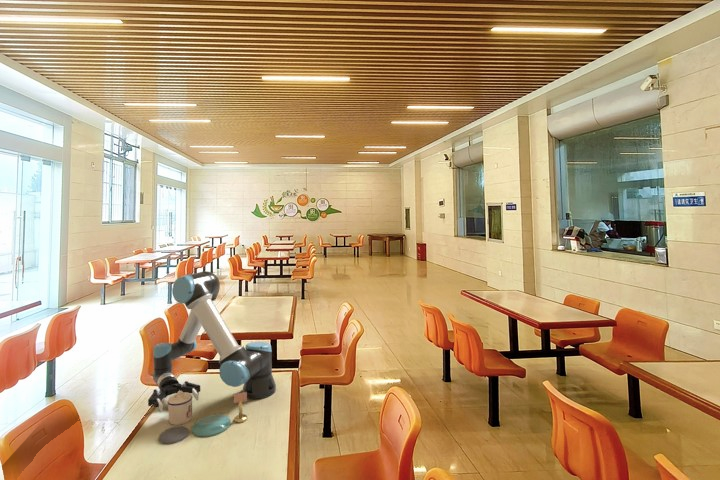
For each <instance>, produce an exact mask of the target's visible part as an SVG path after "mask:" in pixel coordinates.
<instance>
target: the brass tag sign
mask: <svg viewBox="0 0 720 480" xmlns="http://www.w3.org/2000/svg"><path fill="white" fill-rule="evenodd" d="M247 401H248V398H247V392H243V391H242V392H236V393H233V403H234V404H236V403H238V415H236V416H234V419H233V420H234V421H233V422H235V423H236V424H241V423H244V422H246V421H248V415H247V414H244V413H243V412H244V411H243V402H247Z"/></svg>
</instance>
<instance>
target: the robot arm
mask: <svg viewBox="0 0 720 480" xmlns="http://www.w3.org/2000/svg"><path fill="white" fill-rule="evenodd" d="M172 284H173V285H172V288H171V290H172V296H173V298H174V301H176V303H180V304H184V305H185V307H186V308H187V309H188V310H190V312H189V313H188V317H187V319H186V321H185V323H184V325H183V327H182V330H181V333H180V335H179V337H178V339H177V341H175V342H174V343H170V342H161V343H160V342H159V343H157V344H156V345H154V346H153V350H152V354H153V355H152V357H153V372H152V380H153V381H154V382H155V383H156V386H157V387H158V389H154V390H153V392H152V394H151V395H150V397H149V398H148V399H147V403H148V405H147V406H148V407H151V406H152V405H153V408H158V409H159V411H160V412H161V413H162V412H163V411H164V410H163V403H162V400H163V399H167V398H168V396H173V395H175V394H177V392H178V391H183V392H187V393H190V394H191V395H192V397H193V398H194V399H195V401H199V398H200V397H199V395H200V392H201V385H200V384H197V383H192V382H189V381H184V383H182V384H181V383H180V382H179V380H178V378H176V376H175V375H174V373H173V361H175V360H176V359H179V358H181V357H184V356H186V355H188V354H190V353H191V352H193V351H195V350H196V348H197V340H196V339H197V336H198V335H199V332H200V330H201V328H203V330H204V332H205V333H206V334H207V337H208V339H209V340H210V341H211V343H212V345H213V347H214V348H215V349H214V350H216V352H217V354H218V355H219V360H218V363H219V364H220V367H219V377H220V380H221V381H222V382H223V383H225V385H226V386H228V387H233V388H236V387H240V386H241V385H243V387H242V392H247V399H251V400H258V399H259V400H260V399H265V398H267V397H270V396H272V395H273V394H274V393H275V392H276V390H277V385H276V382H275V378H274V376H273V372H272V371H273V368H272V367H273V365H272V364H273V361H272V357H273V355H272V354H273V353H272V352H273V351H272V345H271V344H270V343H269V342H265V341H253V342H249V343H246V345H245V346H243V345H239V344H238V341H237V340H236V339H235V337H234V336H233V333H232V332H231V330H230V329H229V327H228V325H227V324H226V322H225V320H224V319H223V317H222V315H221V314H220V312H219V311H218V309H217V307H216V305H215V303H214V301H216V300H217V297H218V296H219V292H220V288H221V283H220V279H219V278H218V276H217V275H216V274H215V273H213V272H211V271H207V270H206V271H200V272H196V273H190V274H185V275H182V276H179V277H177V278H176V279H175V280H174V283H172Z"/></svg>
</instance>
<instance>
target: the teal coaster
mask: <svg viewBox="0 0 720 480" xmlns="http://www.w3.org/2000/svg"><path fill="white" fill-rule="evenodd" d="M230 425H231V418H230V417H229V416H227V415H225V414H211V415H207V416H205V417H202V418H200V419H198V420H197V421H196V422H194V423H193V425H192V427H191V432H192V434H193V435H194V436H196V437H199V438H200V437H201V438H207V437H209V438H210V437H213V436H217V435H220V434H222V433H224V432H225V431H226V430H227V429H229V428H230Z"/></svg>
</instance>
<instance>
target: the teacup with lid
mask: <svg viewBox="0 0 720 480" xmlns="http://www.w3.org/2000/svg"><path fill="white" fill-rule="evenodd" d="M167 404H168V405H167V407H168V409H167V410H168V422H169V424H170V425H175V426H178V425H179V426H181V425H183V424H186V423H188V422H189V421H191V420H192V419H193V395H192V393H187V392H183V391H180V390H179V391H178V392H177V393H175V394H172V395H170V397H169V398H168V400H167Z"/></svg>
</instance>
